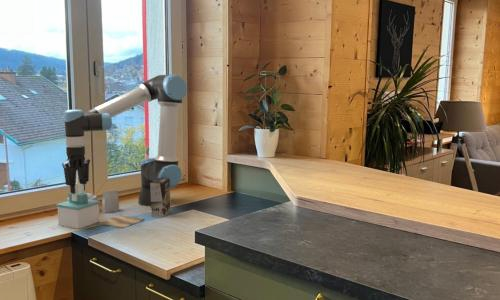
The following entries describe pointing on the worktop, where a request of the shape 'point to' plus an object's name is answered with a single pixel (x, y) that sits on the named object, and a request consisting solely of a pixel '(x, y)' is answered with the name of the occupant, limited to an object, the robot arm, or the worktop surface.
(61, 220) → the storage box
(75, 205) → the lid
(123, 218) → the cork mat
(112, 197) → the grey rectangular block
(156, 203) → the coffee box
